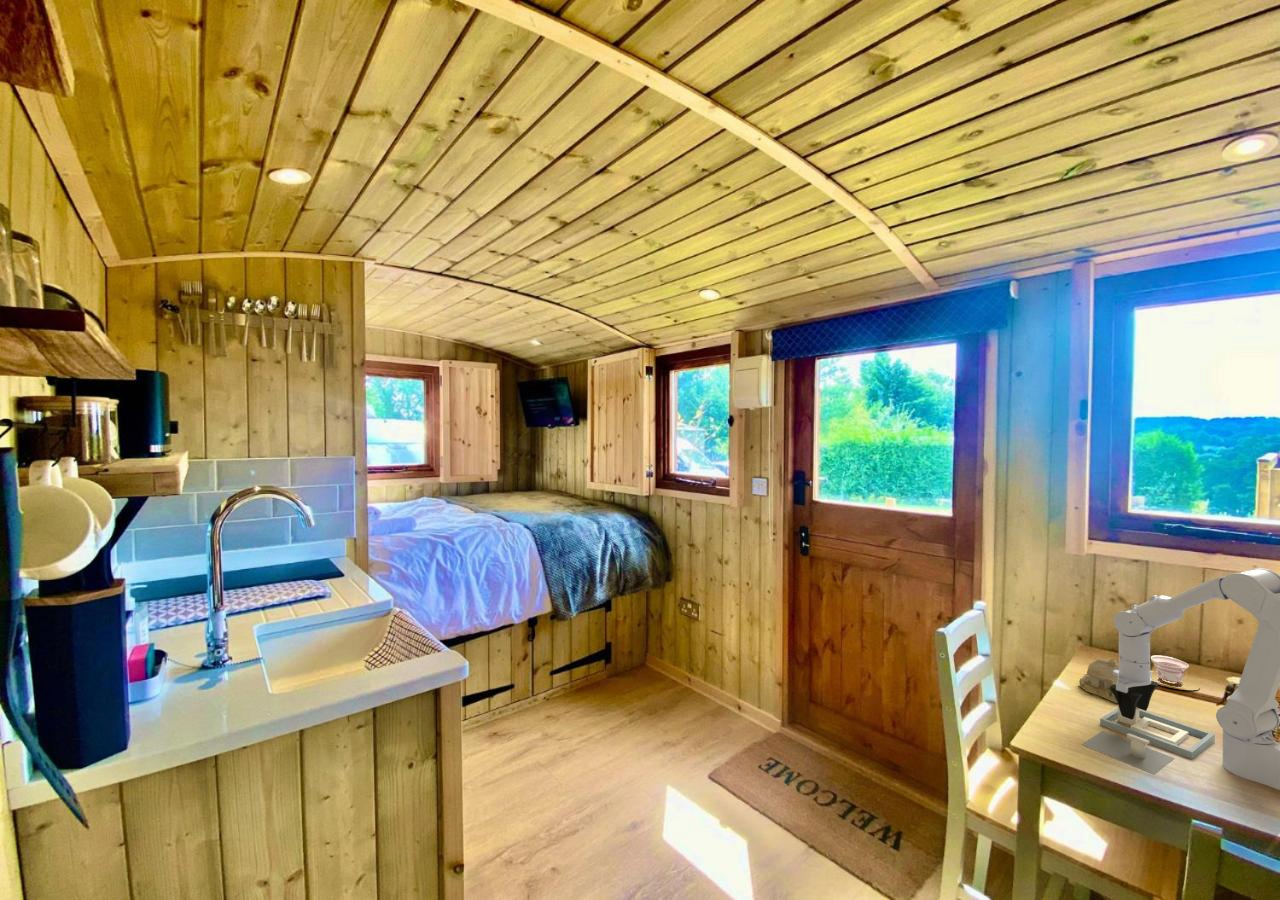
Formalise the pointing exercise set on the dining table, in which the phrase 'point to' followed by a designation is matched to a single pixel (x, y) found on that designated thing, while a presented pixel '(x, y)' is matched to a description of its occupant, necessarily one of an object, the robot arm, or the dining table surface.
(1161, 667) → the teacup
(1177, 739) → the square frame with tab
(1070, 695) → the dining table surface
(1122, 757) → the plate
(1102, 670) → the ceramic model
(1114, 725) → the tray
